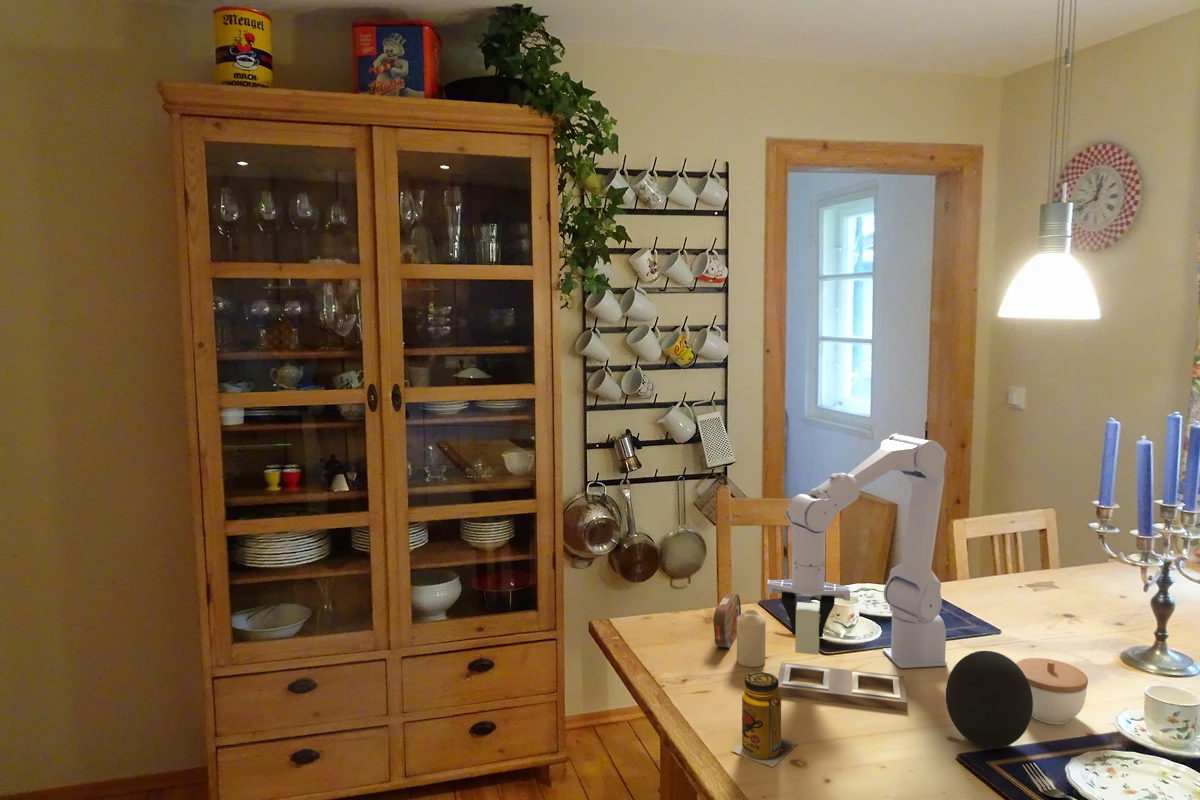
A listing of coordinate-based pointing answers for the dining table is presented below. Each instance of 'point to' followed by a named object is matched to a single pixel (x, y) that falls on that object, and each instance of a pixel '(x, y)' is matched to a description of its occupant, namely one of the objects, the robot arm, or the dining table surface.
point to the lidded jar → (1054, 689)
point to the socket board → (842, 686)
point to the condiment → (762, 720)
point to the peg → (807, 628)
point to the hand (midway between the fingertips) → (807, 633)
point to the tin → (726, 620)
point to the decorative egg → (989, 699)
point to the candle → (751, 639)
